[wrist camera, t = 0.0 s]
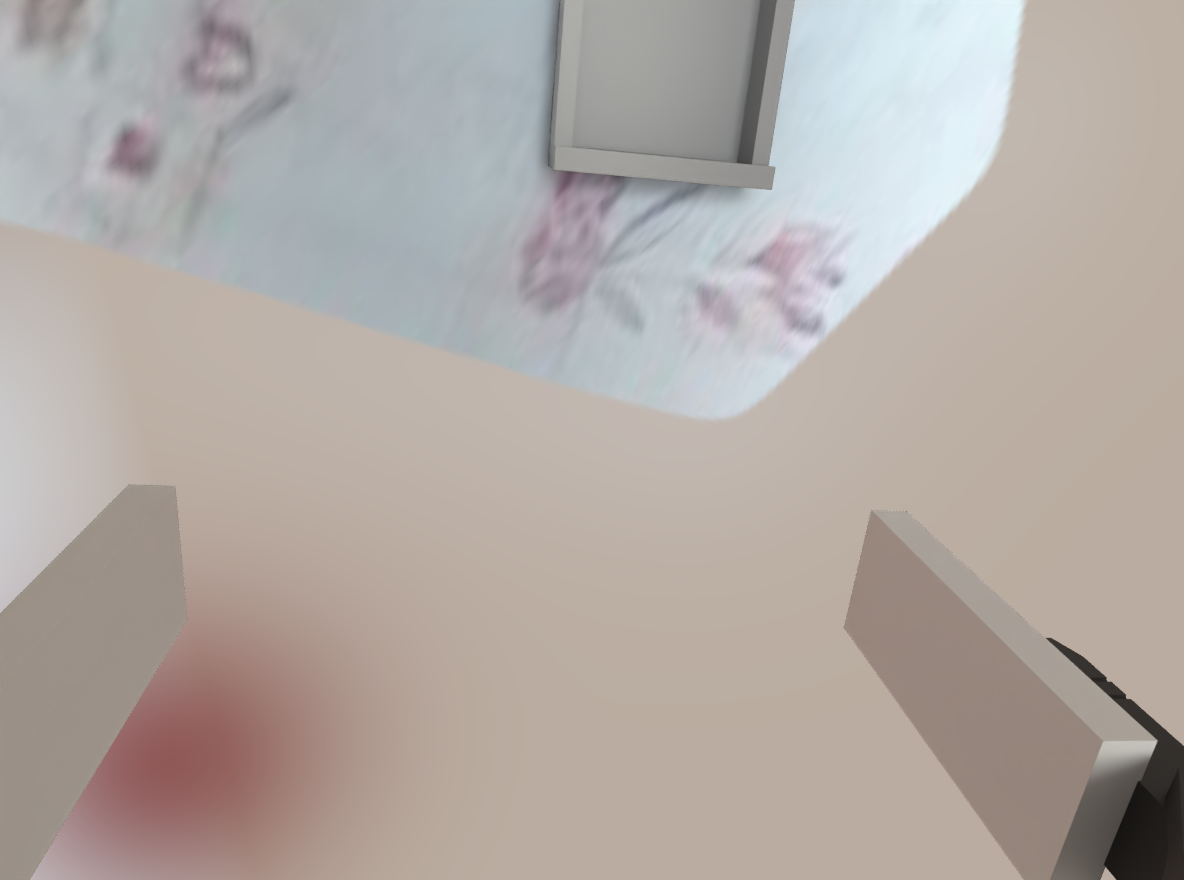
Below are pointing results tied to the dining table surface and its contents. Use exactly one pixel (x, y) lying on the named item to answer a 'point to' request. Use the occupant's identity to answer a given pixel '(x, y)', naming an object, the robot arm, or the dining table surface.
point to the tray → (669, 89)
